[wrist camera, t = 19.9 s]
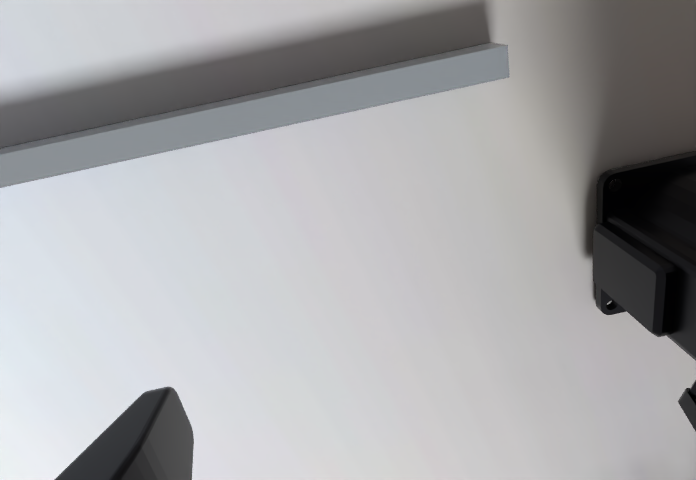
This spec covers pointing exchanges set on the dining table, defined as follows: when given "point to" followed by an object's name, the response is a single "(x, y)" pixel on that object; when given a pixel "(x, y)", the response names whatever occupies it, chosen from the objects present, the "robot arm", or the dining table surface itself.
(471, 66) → the channel
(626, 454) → the dining table surface
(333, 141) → the dining table surface
